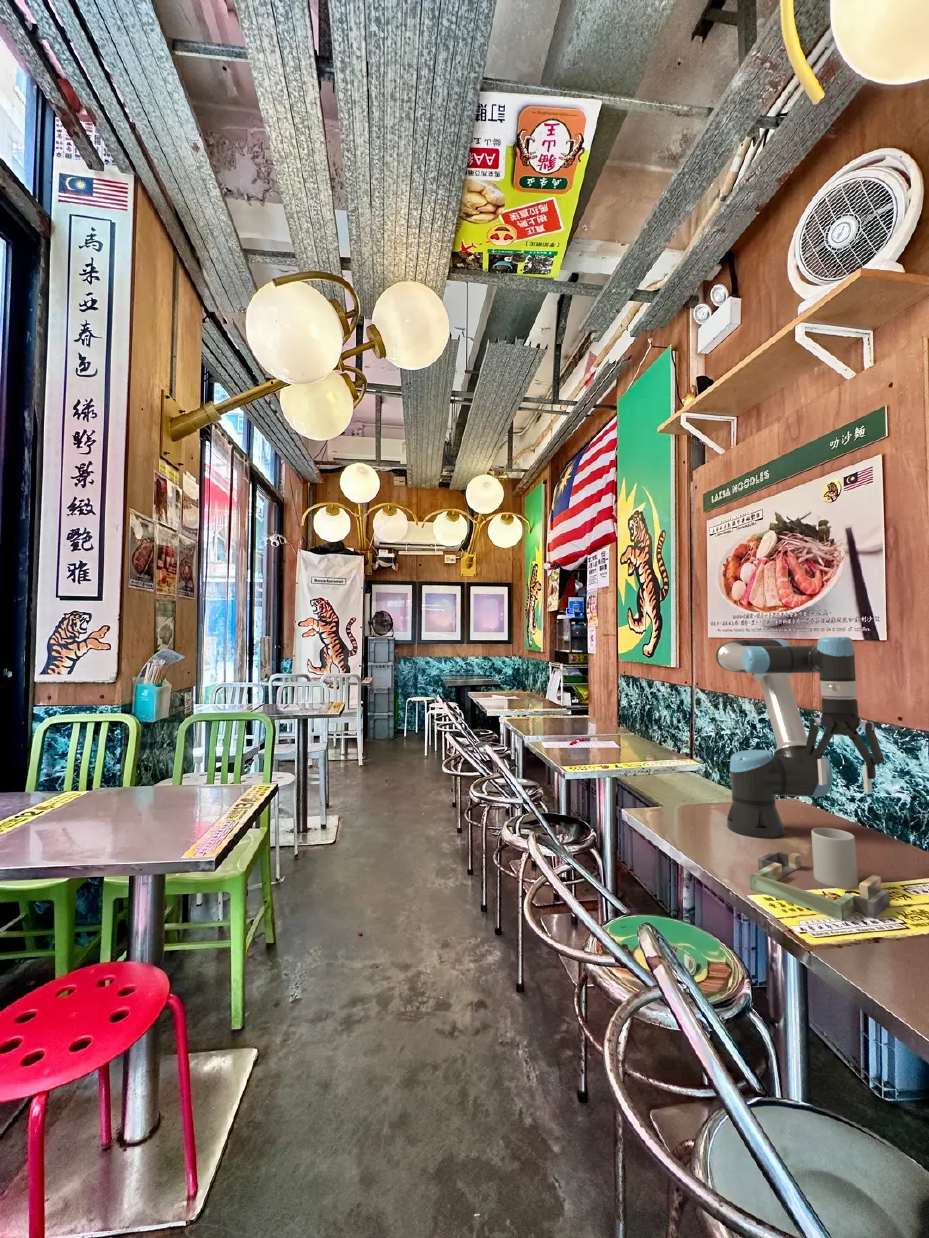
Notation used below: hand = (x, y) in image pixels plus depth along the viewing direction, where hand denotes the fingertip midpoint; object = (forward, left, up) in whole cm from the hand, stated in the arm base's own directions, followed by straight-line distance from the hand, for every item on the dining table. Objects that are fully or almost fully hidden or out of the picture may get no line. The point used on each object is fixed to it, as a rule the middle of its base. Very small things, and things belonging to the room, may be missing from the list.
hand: (844, 787), depth 131 cm
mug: (+10, 0, -20) cm, 22 cm away
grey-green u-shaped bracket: (+20, 0, -19) cm, 28 cm away
